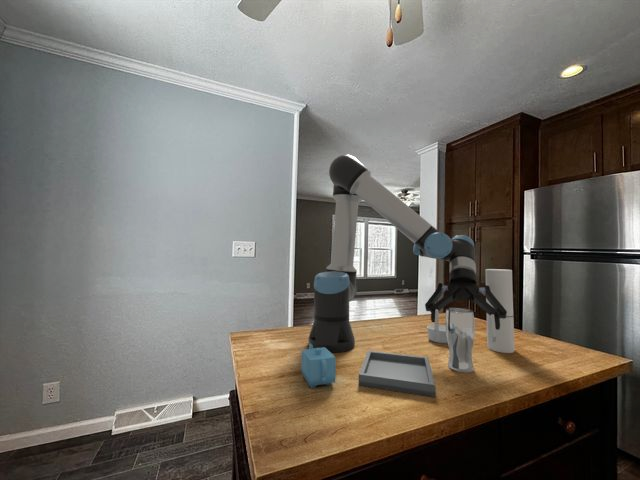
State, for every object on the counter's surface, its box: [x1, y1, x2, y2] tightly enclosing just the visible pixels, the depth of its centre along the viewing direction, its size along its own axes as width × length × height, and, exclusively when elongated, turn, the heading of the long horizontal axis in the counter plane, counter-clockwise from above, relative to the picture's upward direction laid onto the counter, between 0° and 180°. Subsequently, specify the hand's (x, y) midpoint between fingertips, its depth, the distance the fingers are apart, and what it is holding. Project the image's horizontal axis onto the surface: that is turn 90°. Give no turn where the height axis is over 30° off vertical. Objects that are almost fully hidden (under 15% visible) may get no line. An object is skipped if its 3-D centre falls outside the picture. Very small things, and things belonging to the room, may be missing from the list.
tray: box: [358, 350, 436, 398], centre depth 66 cm, size 16×16×2 cm
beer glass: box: [444, 307, 476, 374], centre depth 72 cm, size 7×7×15 cm
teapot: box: [300, 342, 337, 388], centre depth 64 cm, size 12×6×8 cm, turn 19°
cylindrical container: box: [484, 268, 515, 354], centre depth 86 cm, size 7×7×25 cm
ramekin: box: [426, 324, 448, 344], centre depth 95 cm, size 9×9×4 cm
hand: (464, 335), depth 72 cm, fingers open, 13 cm apart
